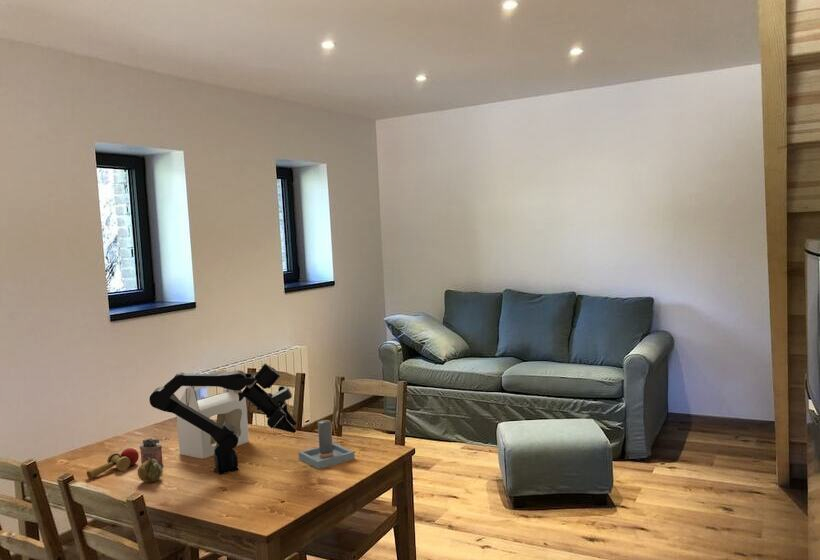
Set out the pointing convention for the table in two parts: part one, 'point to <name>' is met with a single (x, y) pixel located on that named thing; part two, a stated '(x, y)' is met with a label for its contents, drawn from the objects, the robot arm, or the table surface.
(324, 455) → the grey rounded peg
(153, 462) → the olive green lumpy ball
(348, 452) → the tray
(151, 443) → the lighter
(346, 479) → the table surface
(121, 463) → the kendama
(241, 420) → the gable box
